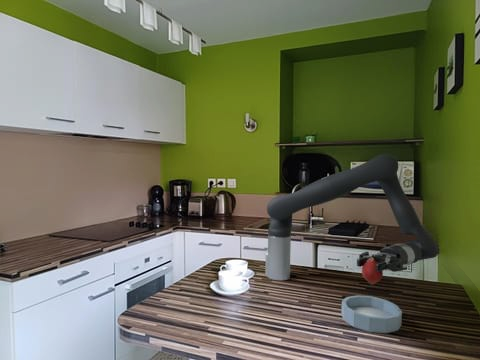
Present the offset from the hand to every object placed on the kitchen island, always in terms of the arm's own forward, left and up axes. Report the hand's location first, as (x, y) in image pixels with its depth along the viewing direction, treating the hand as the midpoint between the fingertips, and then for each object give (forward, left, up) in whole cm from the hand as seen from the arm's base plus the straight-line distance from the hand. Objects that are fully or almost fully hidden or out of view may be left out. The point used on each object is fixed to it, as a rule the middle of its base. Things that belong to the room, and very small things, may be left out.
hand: (367, 265), depth 95 cm
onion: (+1, +3, -6) cm, 7 cm away
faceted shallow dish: (+1, +2, -17) cm, 17 cm away
